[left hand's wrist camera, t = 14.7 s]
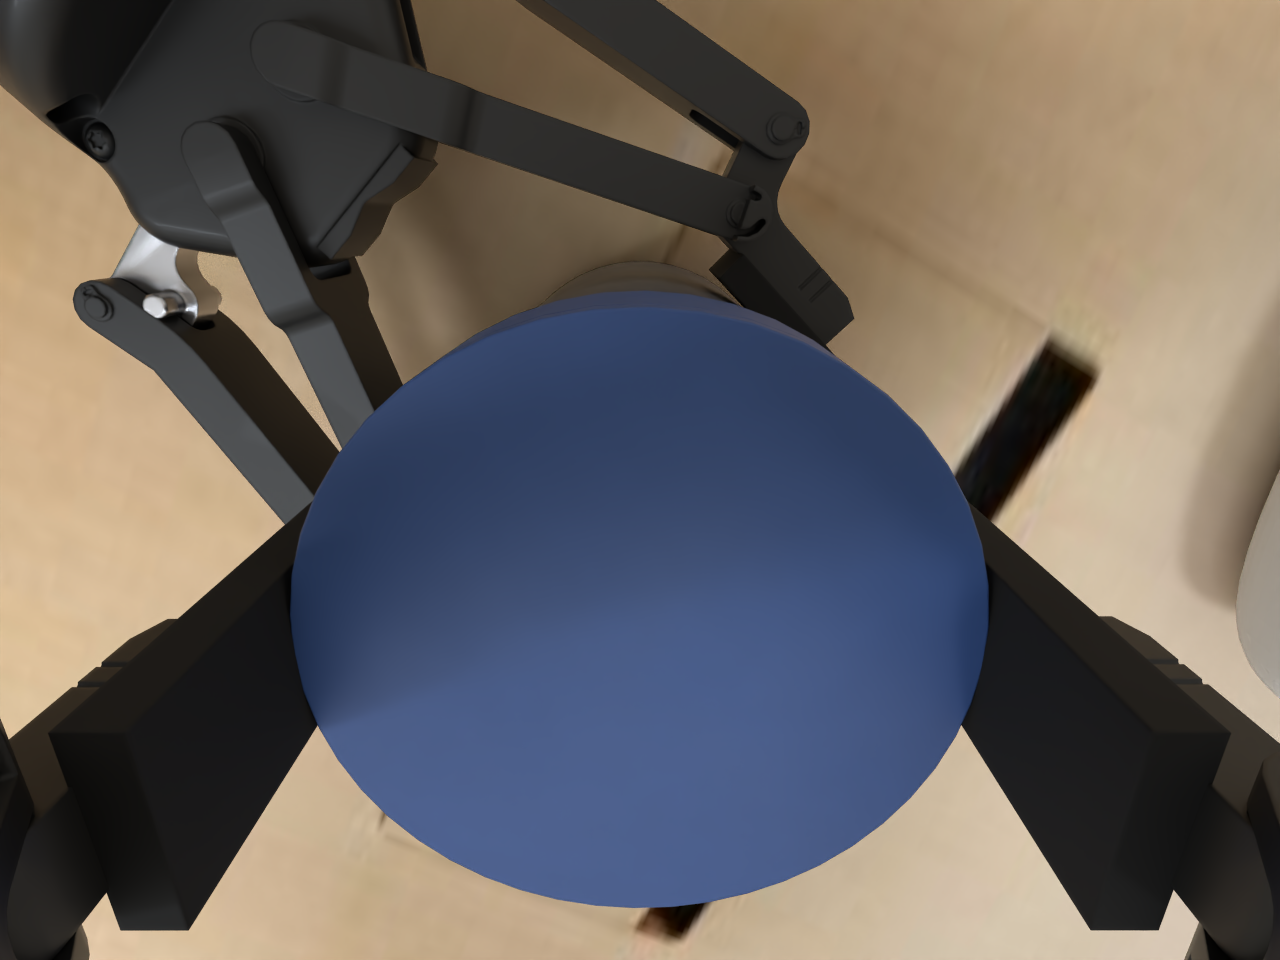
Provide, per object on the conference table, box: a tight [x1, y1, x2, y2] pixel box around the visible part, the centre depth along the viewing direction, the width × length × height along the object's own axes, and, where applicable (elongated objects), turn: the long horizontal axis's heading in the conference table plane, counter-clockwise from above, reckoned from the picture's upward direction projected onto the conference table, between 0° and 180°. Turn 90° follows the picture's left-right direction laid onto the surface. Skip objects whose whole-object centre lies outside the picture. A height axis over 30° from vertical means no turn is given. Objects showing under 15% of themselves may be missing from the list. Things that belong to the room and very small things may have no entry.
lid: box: [290, 291, 989, 908], centre depth 11 cm, size 10×10×2 cm
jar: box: [539, 261, 740, 307], centre depth 18 cm, size 9×9×15 cm
